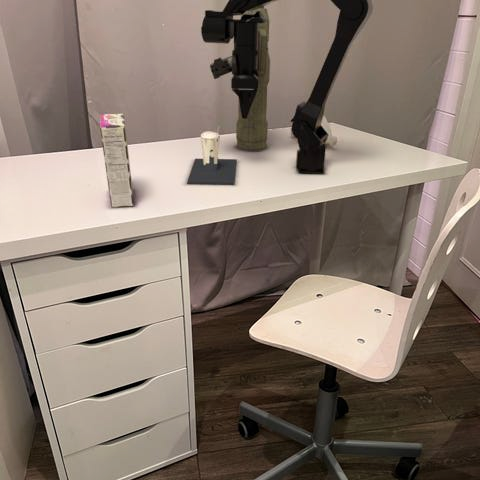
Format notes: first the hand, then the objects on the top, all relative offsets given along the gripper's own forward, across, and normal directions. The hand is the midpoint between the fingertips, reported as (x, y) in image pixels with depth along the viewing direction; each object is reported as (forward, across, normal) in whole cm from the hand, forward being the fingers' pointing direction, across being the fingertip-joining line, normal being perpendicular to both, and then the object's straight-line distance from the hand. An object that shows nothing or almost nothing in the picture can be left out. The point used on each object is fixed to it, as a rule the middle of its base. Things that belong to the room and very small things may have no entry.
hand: (244, 114), depth 130 cm
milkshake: (+12, +9, -8) cm, 17 cm away
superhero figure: (+12, -22, +21) cm, 33 cm away
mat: (+12, +9, -7) cm, 17 cm away
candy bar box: (+12, +30, -26) cm, 41 cm away
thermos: (+12, -16, +2) cm, 20 cm away
